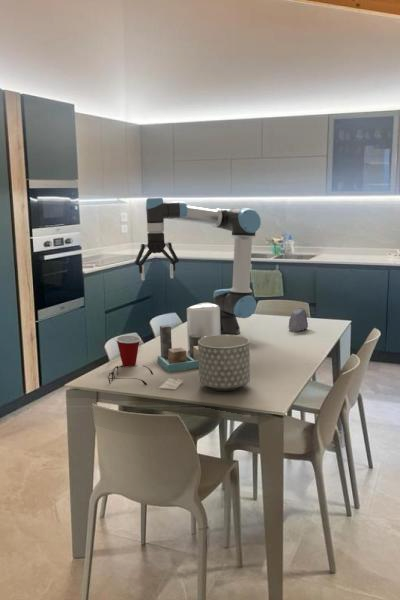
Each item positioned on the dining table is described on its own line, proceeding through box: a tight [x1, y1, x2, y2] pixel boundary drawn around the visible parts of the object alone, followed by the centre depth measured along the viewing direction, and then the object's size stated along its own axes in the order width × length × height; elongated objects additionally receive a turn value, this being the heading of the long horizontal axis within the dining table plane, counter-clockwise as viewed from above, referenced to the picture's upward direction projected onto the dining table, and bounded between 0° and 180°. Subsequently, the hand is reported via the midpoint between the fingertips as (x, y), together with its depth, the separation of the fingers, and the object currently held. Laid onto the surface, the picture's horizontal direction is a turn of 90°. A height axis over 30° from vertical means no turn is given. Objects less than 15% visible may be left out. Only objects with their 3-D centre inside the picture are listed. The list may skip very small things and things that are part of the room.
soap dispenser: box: [186, 302, 221, 352], centre depth 267 cm, size 15×14×22 cm
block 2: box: [189, 334, 201, 360], centre depth 250 cm, size 6×14×10 cm, turn 20°
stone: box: [288, 308, 309, 332], centre depth 301 cm, size 12×10×10 cm
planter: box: [198, 334, 251, 392], centre depth 213 cm, size 19×19×18 cm
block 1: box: [159, 324, 187, 364], centre depth 249 cm, size 6×22×14 cm, turn 20°
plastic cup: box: [115, 335, 142, 367], centre depth 246 cm, size 11×11×12 cm
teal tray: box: [157, 353, 199, 373], centre depth 246 cm, size 24×15×3 cm, turn 110°
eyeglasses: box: [107, 365, 154, 386], centre depth 227 cm, size 16×16×4 cm
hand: (157, 279), depth 260 cm, fingers open, 13 cm apart
